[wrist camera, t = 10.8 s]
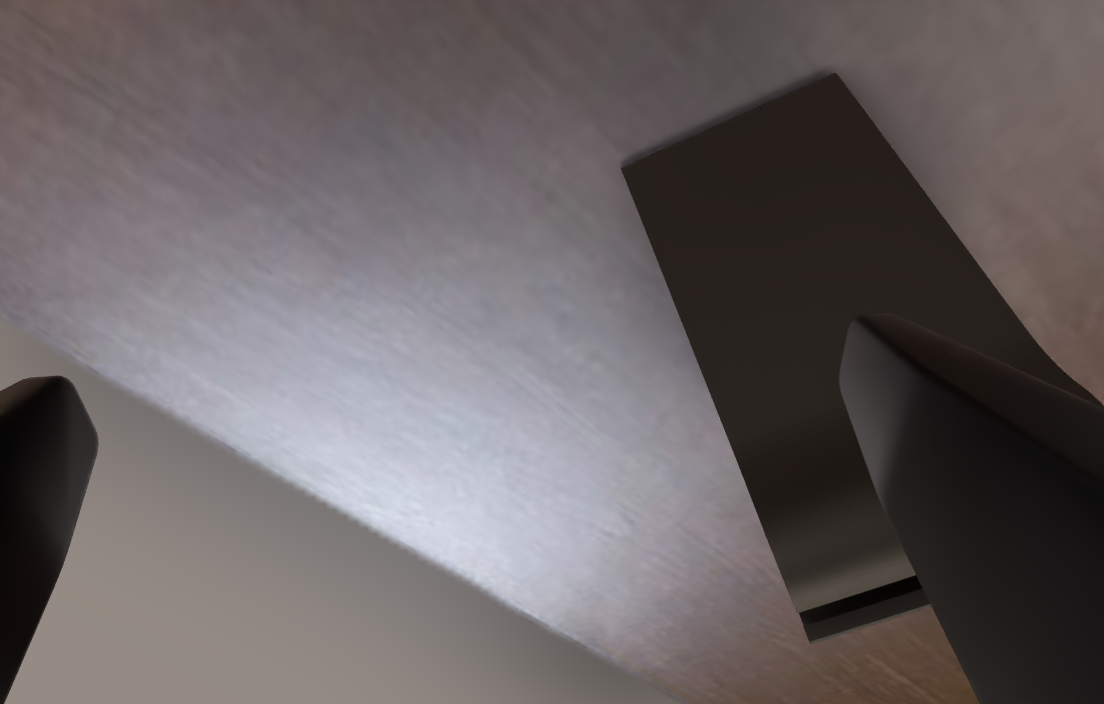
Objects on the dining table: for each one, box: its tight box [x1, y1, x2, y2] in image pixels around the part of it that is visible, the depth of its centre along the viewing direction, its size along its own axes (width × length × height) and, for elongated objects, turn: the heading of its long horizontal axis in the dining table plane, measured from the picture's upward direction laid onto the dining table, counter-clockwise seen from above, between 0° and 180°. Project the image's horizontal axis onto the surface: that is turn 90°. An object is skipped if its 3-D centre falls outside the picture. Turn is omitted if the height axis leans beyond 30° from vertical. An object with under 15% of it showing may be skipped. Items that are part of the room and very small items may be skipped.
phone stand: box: [621, 73, 1104, 644], centre depth 18 cm, size 9×6×12 cm, turn 24°
